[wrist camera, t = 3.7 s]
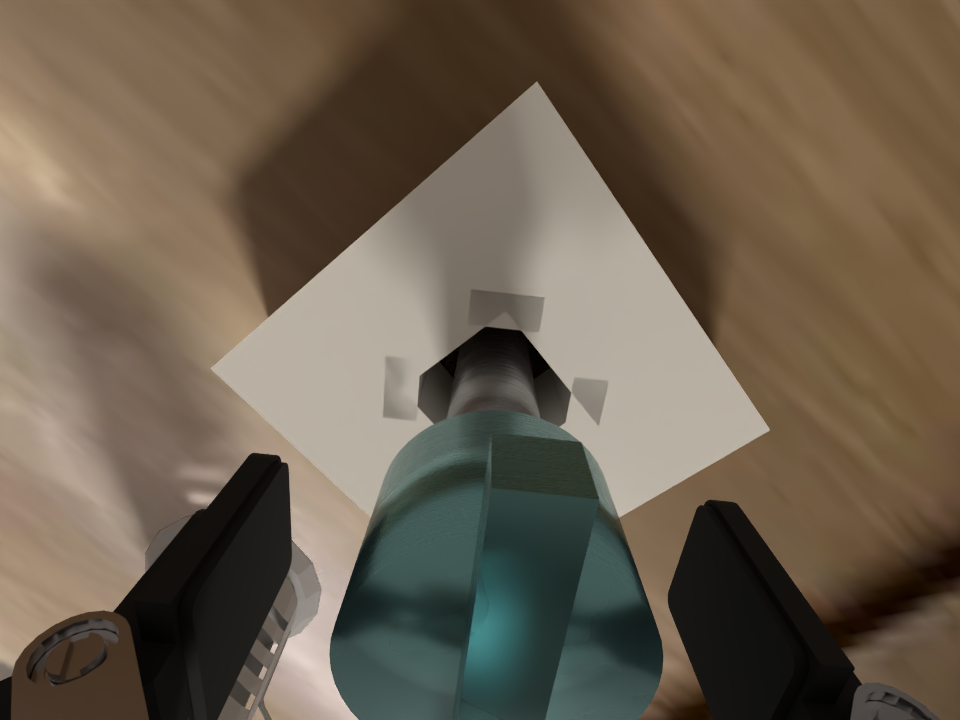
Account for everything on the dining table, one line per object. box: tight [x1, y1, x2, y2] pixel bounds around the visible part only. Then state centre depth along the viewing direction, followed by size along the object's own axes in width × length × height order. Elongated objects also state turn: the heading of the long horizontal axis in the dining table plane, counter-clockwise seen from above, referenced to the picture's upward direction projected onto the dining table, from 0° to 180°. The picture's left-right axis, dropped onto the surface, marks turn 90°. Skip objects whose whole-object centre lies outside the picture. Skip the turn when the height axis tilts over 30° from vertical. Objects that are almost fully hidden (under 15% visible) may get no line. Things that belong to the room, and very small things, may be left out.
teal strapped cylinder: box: [330, 326, 663, 720], centre depth 15 cm, size 9×6×16 cm, turn 174°
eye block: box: [210, 82, 770, 518], centre depth 20 cm, size 14×14×5 cm
